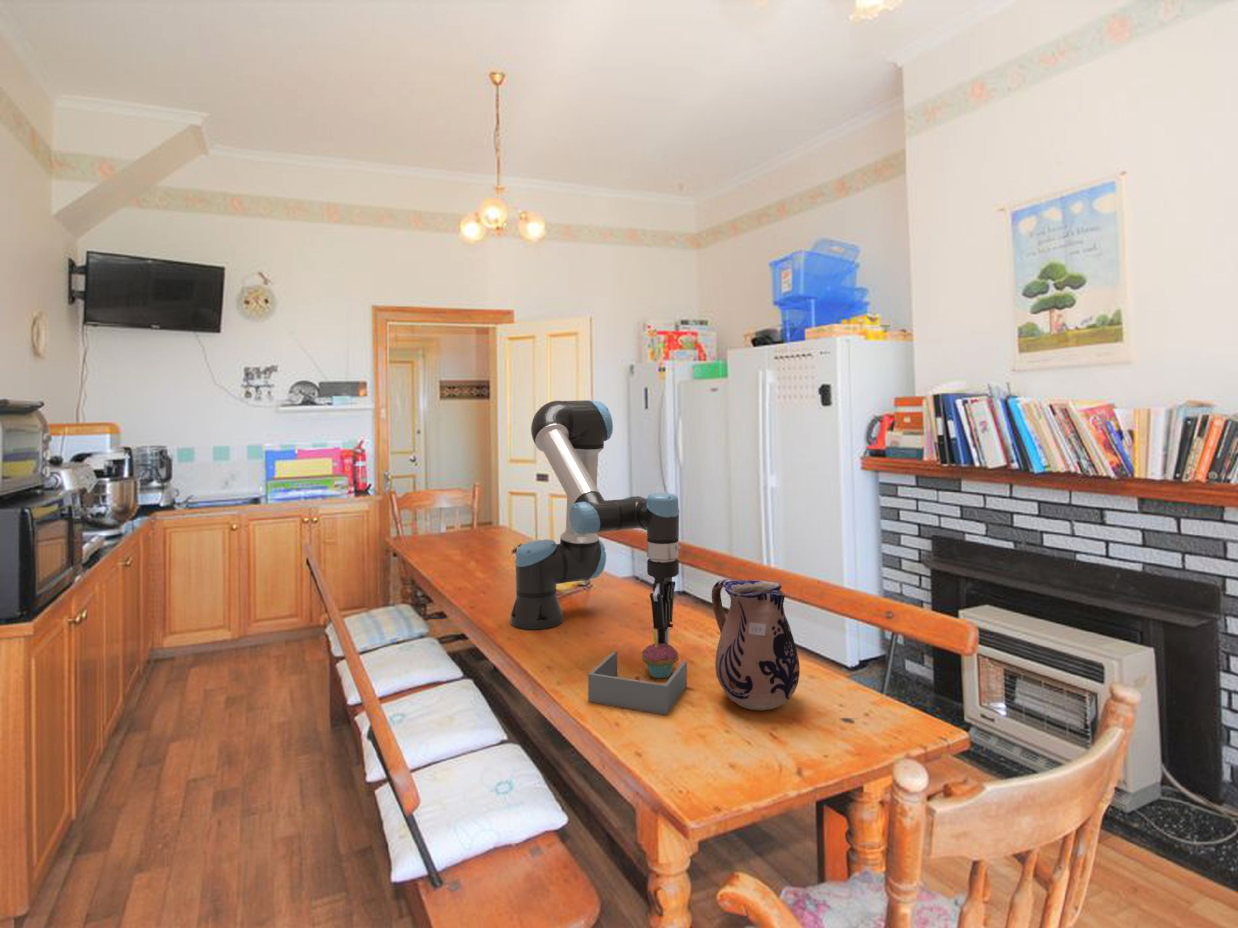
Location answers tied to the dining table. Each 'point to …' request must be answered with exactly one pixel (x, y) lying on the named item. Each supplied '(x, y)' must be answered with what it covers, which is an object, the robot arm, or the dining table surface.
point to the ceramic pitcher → (755, 645)
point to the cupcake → (659, 658)
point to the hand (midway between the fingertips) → (663, 654)
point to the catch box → (634, 688)
